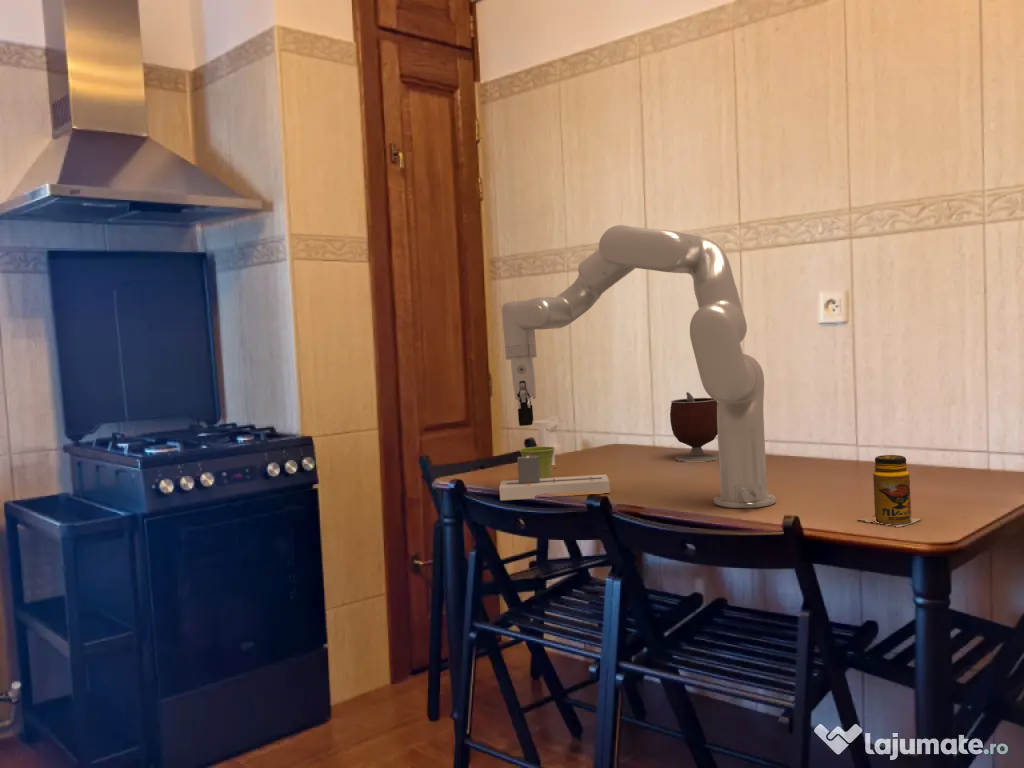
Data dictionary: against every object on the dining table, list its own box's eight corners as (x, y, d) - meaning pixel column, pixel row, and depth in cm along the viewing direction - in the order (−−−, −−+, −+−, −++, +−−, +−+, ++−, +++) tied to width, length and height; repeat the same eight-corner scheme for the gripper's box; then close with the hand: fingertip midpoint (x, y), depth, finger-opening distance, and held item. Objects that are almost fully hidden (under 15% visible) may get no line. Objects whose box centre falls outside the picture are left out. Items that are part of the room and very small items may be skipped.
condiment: (900, 528, 150) (897, 460, 149) (856, 521, 157) (853, 457, 156) (922, 520, 154) (919, 455, 153) (878, 514, 161) (875, 452, 160)
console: (610, 493, 199) (609, 480, 199) (500, 500, 201) (499, 487, 200) (607, 486, 209) (606, 474, 209) (502, 492, 211) (501, 480, 210)
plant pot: (527, 478, 230) (525, 446, 230) (561, 477, 227) (558, 445, 227) (516, 484, 221) (514, 451, 221) (551, 484, 218) (548, 450, 218)
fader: (539, 482, 203) (537, 457, 203) (518, 483, 204) (517, 458, 203) (539, 480, 207) (538, 455, 206) (519, 481, 207) (517, 456, 206)
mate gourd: (678, 455, 252) (674, 388, 251) (725, 455, 247) (721, 386, 245) (666, 464, 238) (662, 393, 237) (716, 463, 232) (712, 391, 231)
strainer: (556, 470, 239) (553, 418, 238) (533, 470, 242) (530, 418, 242) (566, 466, 246) (562, 415, 245) (543, 466, 249) (540, 415, 248)
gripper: (535, 351, 195) (541, 425, 195) (536, 351, 212) (542, 419, 213) (503, 354, 195) (509, 428, 196) (506, 353, 212) (512, 421, 213)
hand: (526, 423), depth 204 cm, fingers open, 9 cm apart
